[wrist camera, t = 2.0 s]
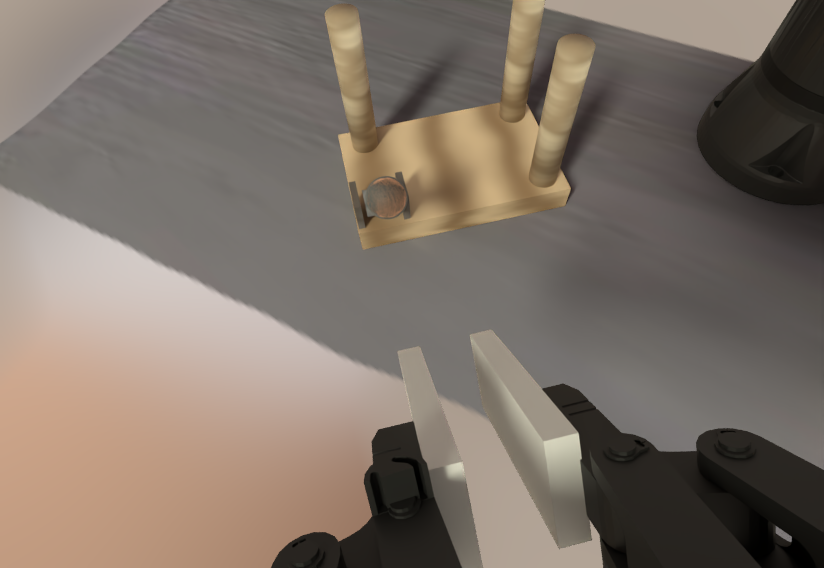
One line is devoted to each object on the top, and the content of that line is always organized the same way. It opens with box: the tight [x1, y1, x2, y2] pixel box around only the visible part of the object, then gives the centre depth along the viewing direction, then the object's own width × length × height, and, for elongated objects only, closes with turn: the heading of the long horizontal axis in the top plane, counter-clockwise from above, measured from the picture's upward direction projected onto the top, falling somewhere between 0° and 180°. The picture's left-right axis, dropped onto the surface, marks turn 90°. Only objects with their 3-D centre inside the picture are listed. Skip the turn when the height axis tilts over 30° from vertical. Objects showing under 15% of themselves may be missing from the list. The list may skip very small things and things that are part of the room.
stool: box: [325, 0, 595, 249], centre depth 43 cm, size 20×13×16 cm, turn 103°
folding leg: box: [362, 176, 408, 219], centre depth 39 cm, size 3×3×13 cm
